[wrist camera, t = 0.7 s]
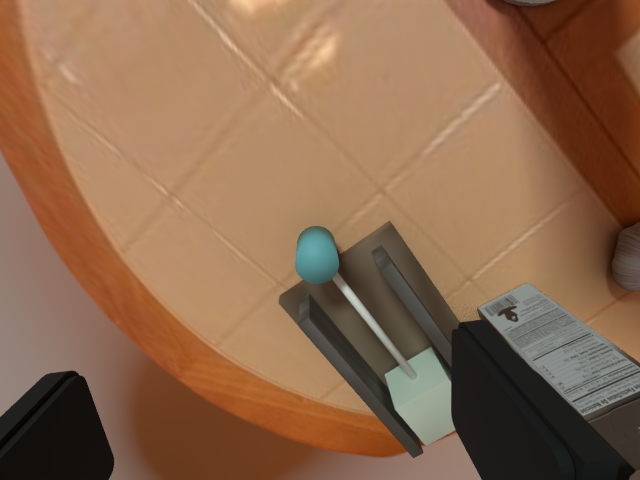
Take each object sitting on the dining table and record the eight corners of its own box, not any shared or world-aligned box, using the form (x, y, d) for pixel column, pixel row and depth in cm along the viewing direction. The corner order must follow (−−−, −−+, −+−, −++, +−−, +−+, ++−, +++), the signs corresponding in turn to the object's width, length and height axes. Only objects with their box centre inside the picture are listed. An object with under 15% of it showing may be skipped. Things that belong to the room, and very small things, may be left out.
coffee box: (554, 341, 40) (703, 473, 25) (503, 365, 41) (616, 508, 26) (528, 279, 38) (675, 385, 23) (473, 307, 39) (579, 427, 23)
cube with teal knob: (330, 210, 33) (334, 226, 28) (457, 382, 40) (478, 419, 35) (280, 246, 34) (275, 268, 29) (412, 408, 41) (426, 447, 36)
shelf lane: (389, 221, 35) (406, 242, 29) (489, 365, 41) (520, 408, 35) (279, 295, 37) (273, 330, 31) (389, 422, 44) (402, 472, 37)
